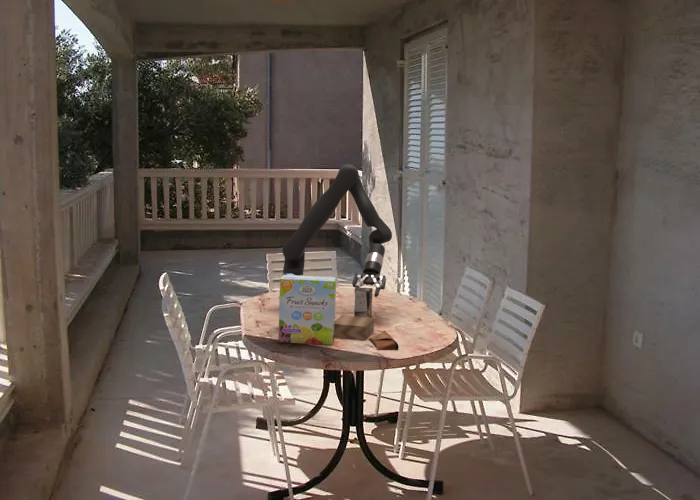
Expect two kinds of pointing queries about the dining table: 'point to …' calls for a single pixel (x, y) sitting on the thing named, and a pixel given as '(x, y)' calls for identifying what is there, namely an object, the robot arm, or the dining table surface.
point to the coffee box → (363, 302)
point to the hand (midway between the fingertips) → (365, 295)
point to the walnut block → (353, 327)
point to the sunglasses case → (384, 341)
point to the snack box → (307, 309)
